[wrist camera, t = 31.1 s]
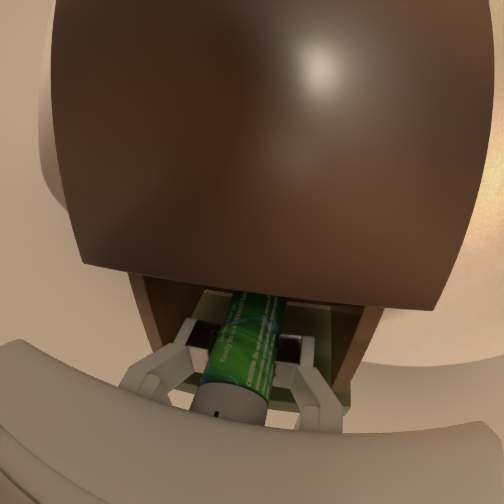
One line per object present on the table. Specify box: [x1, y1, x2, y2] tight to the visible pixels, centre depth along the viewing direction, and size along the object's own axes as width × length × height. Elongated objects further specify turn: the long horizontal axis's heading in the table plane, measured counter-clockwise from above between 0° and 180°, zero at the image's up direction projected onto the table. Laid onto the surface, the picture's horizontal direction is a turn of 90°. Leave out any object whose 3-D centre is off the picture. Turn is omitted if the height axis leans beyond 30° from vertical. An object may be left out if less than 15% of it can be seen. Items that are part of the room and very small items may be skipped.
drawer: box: [127, 272, 385, 416], centre depth 15 cm, size 18×11×8 cm, turn 179°
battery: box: [189, 290, 287, 426], centre depth 11 cm, size 3×3×10 cm
